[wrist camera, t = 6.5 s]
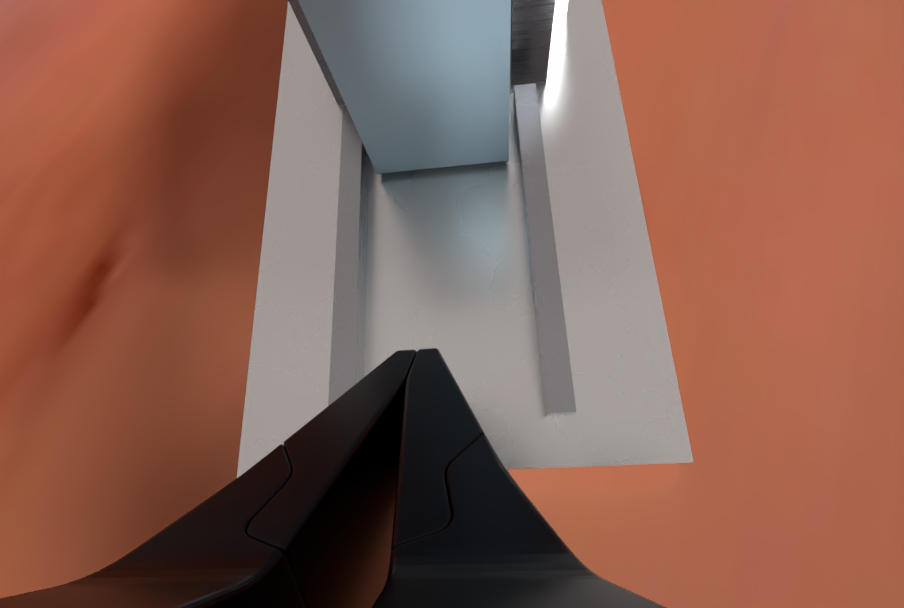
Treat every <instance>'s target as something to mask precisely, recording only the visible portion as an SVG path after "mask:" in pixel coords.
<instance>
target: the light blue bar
mask: <svg viewBox="0 0 904 608" xmlns="http://www.w3.org/2000/svg"><path fill="white" fill-rule="evenodd" d="M298 1H299V4H300V6H301V8H302V10H303V12H304V15H305V17H306V19H307V21H308V23H309V26H310V28H311V30H312V32H313V34H314V37H315V39H316V41H317V43H318V45H319V48H320V50H321V52H322V54H323V56H324V59H325V61H326V63H327V65H328V67H329V70H330V72H331V74H332V76H333V78H334V81H335V83H336V85H337V87H338V89H339V92H340V94H341V96H342V98H343V100H344V103H345V105H346V107H347V109H348V111H349V114H350V116H351V118H352V120H353V122H354V125H355V127H356V129H357V131H358V134H359V136H360V138H361V140H362V142H363V145H364V147H365V149H366V151H367V153H368V156H369V158H370V160H371V162H372V164H373V167H374V169H375V171H376V173H377V174H380V173H390V172H400V171H410V170H420V169H430V168H440V167H450V166H460V165H470V164H480V163H490V162H500V161H509V111H510V37H511V0H298Z"/></svg>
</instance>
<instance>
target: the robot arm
mask: <svg viewBox="0 0 904 608" xmlns="http://www.w3.org/2000/svg"><path fill="white" fill-rule="evenodd" d="M0 608H666V607H664V606H662V605H660V604H657V603H655V602H653V601H651V600H649V599H646V598H644V597H642V596H640V595H638V594H635V593H633V592H631V591H629V590H627V589H624V588H622V587H620V586H618V585H616V584H613V583H611V582H609V581H607V580H605V579H603V578H601V577H599V576H598V575H596V574H595V573H593V572H592V571H591V570H590V569H588V568H587V567H586V566H585V565H584V564H583V563H582V562H581V561H580V560H579V559H578V558H577V557H576V556H575V555H574V554H573V553H572V552H571V550H570V549H569V548H568V547H567V546H566V544H565V543H564V542H563V541H562V540H561V538H560V537H559V536H558V535H557V533H556V532H555V531H554V530H553V528H552V527H551V526H550V525H549V523H548V522H547V521H546V520H545V518H544V517H543V516H542V515H541V513H540V512H539V511H538V510H537V508H536V507H535V506H534V505H533V503H532V502H531V501H530V500H529V498H528V497H527V496H526V495H525V493H524V492H523V491H522V490H521V488H520V487H519V486H518V484H517V483H516V482H515V480H514V479H513V478H512V476H511V475H510V474H509V472H508V471H507V470H506V468H505V467H504V465H503V463H502V462H501V460H500V459H499V457H498V455H497V454H496V452H495V450H494V449H493V447H492V445H491V443H490V442H489V440H488V438H487V436H485V433H484V431H483V429H482V428H481V426H480V424H479V422H478V420H477V418H476V417H475V415H474V413H473V411H472V409H471V408H470V406H469V404H468V402H467V400H466V399H465V397H464V395H463V393H462V391H461V389H460V388H459V386H458V384H457V382H456V380H455V379H454V377H453V375H452V373H451V371H450V369H449V368H448V366H447V364H446V362H445V360H444V359H443V357H442V355H441V353H440V351H439V350H438V349H437V348H429V349H419V350H418V351H416V350H399V351H396V352H395V353H393V354H392V355H391V356H390V357H388V358H387V359H386V360H385V361H384V362H382V363H381V364H380V365H379V366H377V367H376V368H375V369H374V370H372V371H371V372H370V373H369V374H367V375H366V376H365V377H364V378H362V379H361V380H360V381H359V382H357V383H356V384H355V385H354V386H352V387H351V388H350V389H349V390H347V391H346V392H345V393H344V394H343V395H341V396H340V397H339V398H338V399H336V400H335V401H334V402H333V403H331V404H330V405H329V406H328V407H326V408H325V409H324V410H323V411H321V412H320V413H319V414H318V415H316V416H315V417H314V418H313V419H311V420H310V421H309V422H308V423H306V424H305V425H304V426H303V427H301V428H300V429H299V430H298V431H296V432H295V433H294V434H293V435H291V436H290V437H289V438H288V439H287V440H285V441H284V445H283V444H280V445H279V446H278V447H276V448H275V449H274V450H273V451H271V452H270V453H269V454H268V455H266V456H265V457H264V458H263V459H261V460H260V461H259V462H257V463H256V464H255V465H254V466H252V467H251V468H250V469H248V470H247V471H246V472H244V473H243V474H242V475H241V476H239V477H238V478H237V479H235V480H234V481H232V482H231V483H230V484H228V485H227V486H225V487H224V488H223V489H221V490H220V491H218V492H217V493H216V494H214V495H213V496H211V497H210V498H208V499H207V500H206V501H204V502H203V503H201V504H200V505H198V506H197V507H195V508H194V509H192V510H191V511H190V512H188V513H187V514H185V515H184V516H182V517H181V518H179V519H178V520H177V521H175V522H174V523H172V524H171V525H169V526H168V527H166V528H165V529H164V530H162V531H161V532H159V533H158V534H156V535H155V536H153V537H152V538H150V539H149V540H148V541H146V542H145V543H143V544H142V545H140V546H139V547H137V548H136V549H135V550H133V551H132V552H130V553H129V554H127V555H126V556H124V557H122V558H121V559H119V560H118V561H116V562H115V563H113V564H111V565H109V566H107V567H105V568H103V569H101V570H100V571H98V572H95V573H93V574H91V575H88V576H86V577H84V578H81V579H78V580H76V581H73V582H70V583H67V584H64V585H60V586H56V587H52V588H47V589H43V590H38V591H33V592H29V593H24V594H19V595H15V596H10V597H6V598H1V599H0Z"/></svg>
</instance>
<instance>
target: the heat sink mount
mask: <svg viewBox="0 0 904 608" xmlns="http://www.w3.org/2000/svg"><path fill="white" fill-rule="evenodd" d="M429 348H437V349H438V350H439V351H440V353H441V355H442V357H443V359H444V360H445V362H446V364H447V366H448V368H449V369H450V371H451V373H452V375H453V377H454V379H455V380H456V382H457V384H458V386H459V388H460V389H461V391H462V393H463V395H464V397H465V399H466V400H467V402H468V404H469V406H470V408H471V409H472V411H473V413H474V415H475V417H476V418H477V420H478V422H479V424H480V426H481V428H482V429H483V431H484V433H485V436H487V438H488V440H489V442H490V443H491V445H492V447H493V449H494V450H495V452H496V454H497V455H498V457H499V459H500V460H501V462H502V463H503V465H504V467H505V468H506V469H530V468H556V467H583V466H609V465H636V464H662V463H688V462H693V457H692V452H691V447H690V442H689V437H688V432H687V427H686V422H685V417H684V412H683V407H682V402H681V397H680V392H679V387H678V382H677V377H676V372H675V367H674V362H673V357H672V352H671V347H670V342H669V337H668V332H667V327H666V322H665V317H664V312H663V307H662V302H661V297H660V292H659V287H658V282H657V277H656V272H655V267H654V262H653V257H652V252H651V247H650V242H649V237H648V232H647V227H646V222H645V217H644V212H643V207H642V202H641V197H640V192H639V187H638V182H637V177H636V172H635V166H634V161H633V156H632V151H631V146H630V141H629V136H628V131H627V126H626V121H625V116H624V111H623V106H622V101H621V96H620V91H619V86H618V81H617V76H616V71H615V66H614V61H613V56H612V51H611V46H610V41H609V36H608V31H607V26H606V21H605V16H604V11H603V6H602V1H601V0H511V37H510V111H509V161H500V162H490V163H480V164H470V165H460V166H450V167H440V168H430V169H420V170H410V171H400V172H390V173H380V174H377V173H376V171H375V169H374V167H373V164H372V162H371V160H370V158H369V156H368V153H367V151H366V149H365V147H364V145H363V142H362V140H361V138H360V136H359V134H358V131H357V129H356V127H355V125H354V122H353V120H352V118H351V116H350V114H349V111H348V109H347V107H346V105H345V103H344V100H343V98H342V96H341V94H340V92H339V89H338V87H337V85H336V83H335V81H334V78H333V76H332V74H331V72H330V70H329V67H328V65H327V63H326V61H325V59H324V56H323V54H322V52H321V50H320V48H319V45H318V43H317V41H316V39H315V37H314V34H313V32H312V30H311V28H310V26H309V23H308V21H307V19H306V17H305V15H304V12H303V10H302V8H301V6H300V4H299V1H298V0H288V7H287V16H286V26H285V35H284V44H283V53H282V63H281V72H280V81H279V90H278V100H277V109H276V118H275V127H274V137H273V146H272V155H271V164H270V174H269V183H268V192H267V201H266V211H265V220H264V229H263V238H262V248H261V257H260V266H259V275H258V285H257V294H256V303H255V312H254V322H253V331H252V340H251V349H250V359H249V368H248V377H247V386H246V396H245V405H244V414H243V423H242V433H241V442H240V451H239V460H238V470H237V478H238V477H239V476H241V475H242V474H243V473H244V472H246V471H247V470H248V469H250V468H251V467H252V466H254V465H255V464H256V463H257V462H259V461H260V460H261V459H263V458H264V457H265V456H266V455H268V454H269V453H270V452H271V451H273V450H274V449H275V448H276V447H278V446H279V445H280V444H283V445H284V441H285V440H287V439H288V438H289V437H290V436H291V435H293V434H294V433H295V432H296V431H298V430H299V429H300V428H301V427H303V426H304V425H305V424H306V423H308V422H309V421H310V420H311V419H313V418H314V417H315V416H316V415H318V414H319V413H320V412H321V411H323V410H324V409H325V408H326V407H328V406H329V405H330V404H331V403H333V402H334V401H335V400H336V399H338V398H339V397H340V396H341V395H343V394H344V393H345V392H346V391H347V390H349V389H350V388H351V387H352V386H354V385H355V384H356V383H357V382H359V381H360V380H361V379H362V378H364V377H365V376H366V375H367V374H369V373H370V372H371V371H372V370H374V369H375V368H376V367H377V366H379V365H380V364H381V363H382V362H384V361H385V360H386V359H387V358H388V357H390V356H391V355H392V354H393V353H395V352H396V351H399V350H416V351H418V350H419V349H429Z"/></svg>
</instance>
